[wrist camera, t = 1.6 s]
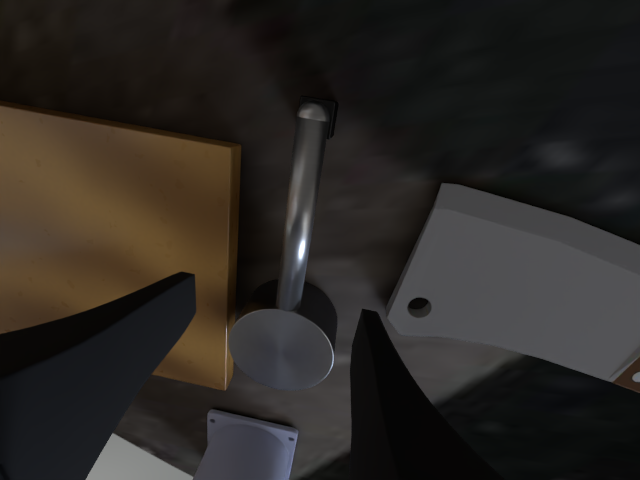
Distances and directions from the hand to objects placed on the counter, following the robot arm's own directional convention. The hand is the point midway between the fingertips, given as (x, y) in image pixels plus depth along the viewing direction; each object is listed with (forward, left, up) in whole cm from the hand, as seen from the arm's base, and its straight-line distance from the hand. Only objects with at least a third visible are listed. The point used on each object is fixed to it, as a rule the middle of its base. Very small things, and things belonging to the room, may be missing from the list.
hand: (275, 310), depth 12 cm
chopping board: (-4, +14, -6) cm, 16 cm away
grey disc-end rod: (0, 0, -6) cm, 6 cm away
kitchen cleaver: (-1, -18, -6) cm, 19 cm away
